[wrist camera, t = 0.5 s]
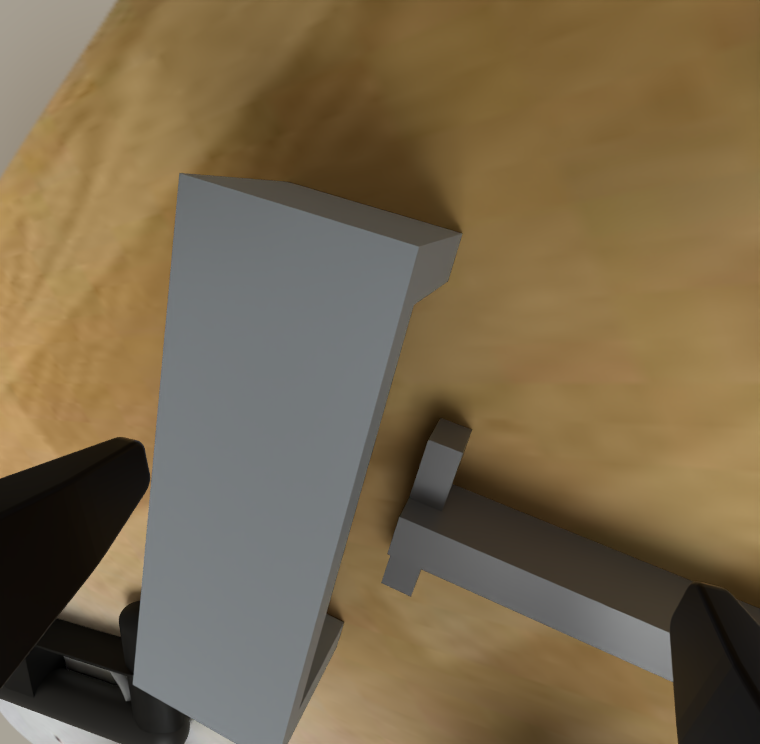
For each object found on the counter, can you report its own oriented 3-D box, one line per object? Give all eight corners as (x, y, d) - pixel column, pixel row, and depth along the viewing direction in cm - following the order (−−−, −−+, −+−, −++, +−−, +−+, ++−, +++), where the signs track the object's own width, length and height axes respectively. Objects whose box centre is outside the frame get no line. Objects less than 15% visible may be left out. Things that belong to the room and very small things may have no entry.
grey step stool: (336, 647, 30) (276, 766, 23) (218, 587, 31) (132, 684, 25) (462, 233, 21) (419, 246, 14) (287, 181, 22) (179, 173, 16)
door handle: (-85, 521, 36) (-38, 704, 40) (145, 577, 30) (173, 787, 34) (-35, 499, 39) (4, 671, 43) (183, 546, 33) (205, 742, 37)
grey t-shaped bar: (875, 763, 22) (937, 874, 18) (396, 550, 26) (370, 605, 23) (1007, 631, 19) (1113, 732, 15) (441, 417, 23) (419, 455, 20)
